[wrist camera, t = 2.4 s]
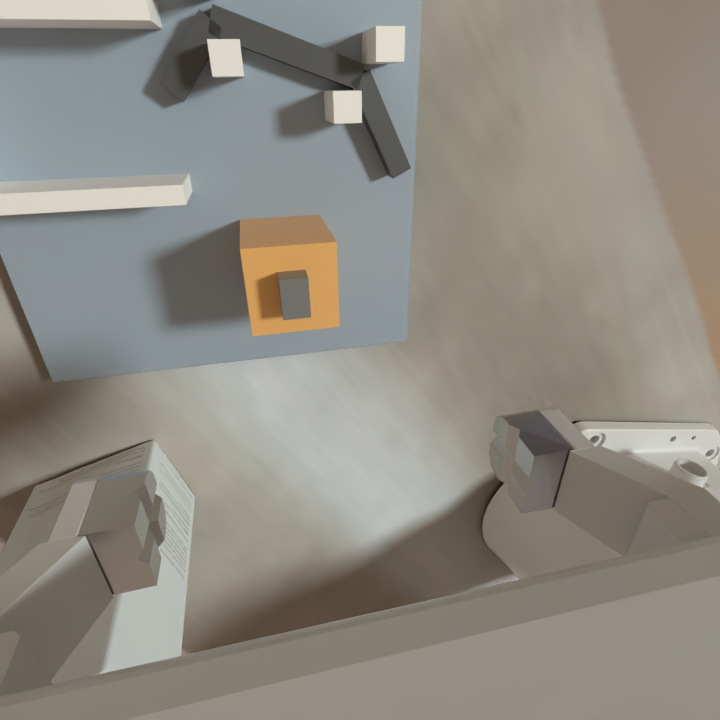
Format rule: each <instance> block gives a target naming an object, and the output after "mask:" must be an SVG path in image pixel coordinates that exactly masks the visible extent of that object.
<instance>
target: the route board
mask: <svg viewBox="0 0 720 720" xmlns="http://www.w3.org/2000/svg"><path fill="white" fill-rule="evenodd" d="M421 17H422V0H0V255H1V257H2V260H3V262H4V265H5V267H6V269H7V272H8V274H9V277H10V279H11V282H12V284H13V287H14V289H15V291H16V294H17V296H18V299H19V301H20V304H21V306H22V308H23V311H24V313H25V316H26V318H27V321H28V323H29V325H30V328H31V330H32V333H33V335H34V338H35V340H36V343H37V345H38V347H39V350H40V352H41V355H42V357H43V360H44V362H45V364H46V367H47V369H48V372H49V374H50V377H51V379H52V382H53V383H55V382H64V381H72V380H81V379H89V378H98V377H106V376H115V375H124V374H132V373H141V372H149V371H158V370H166V369H175V368H183V367H192V366H200V365H209V364H217V363H226V362H235V361H243V360H252V359H260V358H269V357H277V356H286V355H294V354H303V353H311V352H320V351H328V350H337V349H346V348H354V347H363V346H371V345H380V344H388V343H397V342H405V341H407V333H408V310H409V287H410V265H411V242H412V220H413V197H414V175H415V152H416V130H417V107H418V84H419V62H420V39H421ZM304 215H320V216H321V217H322V219H323V221H324V222H325V224H326V225H327V227H328V229H329V230H330V232H331V234H332V235H333V237H334V238H335V240H336V242H337V264H338V290H339V317H340V327H334V328H325V329H315V330H306V331H297V332H288V333H279V334H269V335H260V336H252V330H251V323H250V316H249V309H248V302H247V295H246V288H245V281H244V274H243V267H242V260H241V253H240V220H242V219H257V218H273V217H289V216H304Z"/></svg>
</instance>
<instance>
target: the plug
mask: <svg viewBox="0 0 720 720" xmlns="http://www.w3.org/2000/svg"><path fill="white" fill-rule="evenodd" d="M240 253H241V260H242V267H243V274H244V281H245V288H246V295H247V302H248V309H249V316H250V323H251V330H252V336H260V335H269V334H279V333H288V332H297V331H306V330H315V329H325V328H334V327H340V317H339V290H338V264H337V242H336V240H335V238H334V237H333V235H332V234H331V232H330V230H329V229H328V227H327V225H326V224H325V222H324V221H323V219H322V217H321V216H320V215H304V216H289V217H273V218H257V219H242V220H240Z"/></svg>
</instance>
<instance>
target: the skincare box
mask: <svg viewBox="0 0 720 720" xmlns="http://www.w3.org/2000/svg"><path fill="white" fill-rule="evenodd" d="M148 470H150V471H152V472H153V473H154V476H155V479H156V482H157V486H156V492H155V494H156V495H158V496H160V497H161V498H162V500H163V503H164V507H165V513H166V533H165V540H164V542H163V543H162V544H161V545H160V546H159V547H158V549H159V552H160V555H161V564H160V570H159V576H158V581H157V585H156V586H152V587H148V588H143V589H139V590H134V591H130V592H125V593H121V594H116V595H113V597H114V598H113V599H112V601H111V602H110V603H109V604H108V606H107V607H106V608H105V610H104V611H103V612H102V614H101V615H100V616H99V618H98V619H97V620H96V622H95V623H94V624H93V626H92V627H91V628H90V630H89V631H88V632H87V634H86V635H85V636H84V638H83V639H82V640H81V642H80V643H79V644H78V646H77V647H76V648H75V650H74V651H73V652H72V654H71V655H70V656H69V658H68V659H67V660H66V662H65V663H64V664H63V665H62V667H61V668H60V669H59V671H58V672H57V673H56V675H55V676H54V677H53V679H52V680H51V682H52V684H57V683H62V682H66V681H71V680H75V679H80V678H84V677H88V676H93V675H97V674H102V673H106V672H111V671H115V670H120V669H124V668H128V667H133V666H137V665H142V664H146V663H151V662H155V661H159V660H164V659H168V658H173V657H177V656H181V651H182V639H183V626H184V615H185V604H186V593H187V582H188V570H189V560H190V549H191V538H192V526H193V516H194V505H195V497H194V495H193V494H192V492H191V491H190V489H189V488H188V486H187V485H186V484H185V482H184V481H183V479H182V478H181V476H180V475H179V474H178V472H177V471H176V469H175V468H174V466H173V465H172V464H171V462H170V461H169V459H168V458H167V456H166V455H165V454H164V452H163V451H162V450H161V448H160V447H159V445H158V444H157V442H156V441H155V440H151V441H149V442H146V443H143V444H141V445H138V446H136V447H133V448H131V449H128V450H126V451H123V452H121V453H118V454H116V455H113V456H110V457H108V458H105V459H103V460H100V461H98V462H95V463H93V464H90V465H87V466H85V467H82V468H80V469H77V470H74V471H72V472H70V473H67V474H65V475H63V476H60V477H58V478H55V479H53V480H50V481H47V482H44V483H42V484H39V485H36V486H35V487H34V489H33V491H32V493H31V495H30V497H29V499H28V501H27V503H26V505H25V507H24V509H23V511H22V513H21V515H20V516H19V518H18V520H17V522H16V524H15V526H14V528H13V530H12V532H11V534H10V536H9V538H8V540H7V542H6V544H5V546H4V548H3V550H2V552H1V554H0V577H1V576H2V575H3V574H4V573H5V572H7V571H8V570H9V569H10V568H11V567H12V566H14V565H15V564H16V563H17V562H18V561H20V560H21V559H22V558H23V557H24V556H25V555H27V554H28V553H29V552H30V551H31V550H32V549H34V548H35V547H36V546H37V545H38V544H41V543H46V542H47V541H48V539H49V537H50V534H51V532H52V530H53V527H54V525H55V523H56V520H57V518H58V516H59V513H60V511H61V509H62V506H63V504H64V502H65V499H66V497H67V494H68V492H69V490H70V487H71V486H72V484H74V483H75V482H76V481H77V480H84V479H92V478H101V477H104V476H111V475H119V474H126V473H133V472H141V471H148Z"/></svg>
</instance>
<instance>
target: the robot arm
mask: <svg viewBox="0 0 720 720" xmlns="http://www.w3.org/2000/svg"><path fill="white" fill-rule="evenodd" d="M493 430H494V432H495V433H496V435H497V436H496V438H495V439H494V440H493V441H492V442H491V443H490V452H489V455H490V462H491V466H492V468H493V471H494V473H495V474H496V476H497V478H498V479H499V480H500V481H502V482H504V484H503V485H502V486H501V487H500V488H499V490H498V491H497V492H496V494H495V495H494V497H493V498H492V500H491V501H490V503H489V505H488V507H487V510H486V512H485V515H484V519H483V525H482V531H483V537H484V540H485V542H486V544H487V546H488V547H489V548H490V549H491V550H492V551H493V552H494V553H495V554H496V555H497V556H498V557H499V558H500V559H501V560H502V561H503V562H504V563H505V564H506V565H507V566H508V567H509V568H510V570H511V571H512V572H513V573H514V574H515V575H516V577H517V578H518V579H519V580H516V581H511V582H507V583H502V584H498V585H493V586H489V587H484V588H480V589H476V590H471V591H467V592H462V593H458V594H453V595H449V596H444V597H440V598H436V599H431V600H427V601H422V602H418V603H413V604H409V605H404V606H400V607H396V608H391V609H387V610H382V611H378V612H373V613H369V614H364V615H360V616H356V617H351V618H347V619H342V620H338V621H333V622H329V623H324V624H320V625H316V626H311V627H307V628H302V629H298V630H293V631H289V632H284V633H280V634H275V635H271V636H266V637H262V638H257V639H253V640H249V641H244V642H240V643H235V644H231V645H226V646H222V647H217V648H213V649H208V650H204V651H199V652H195V653H191V654H186V655H182V656H177V657H173V658H168V659H164V660H159V661H155V662H151V663H146V664H142V665H137V666H133V667H128V668H124V669H120V670H115V671H111V672H106V673H102V674H97V675H93V676H88V677H84V678H80V679H75V680H71V681H66V682H62V683H57V684H52V682H51V680H52V679H53V677H54V676H55V675H56V673H57V672H58V671H59V669H60V668H61V667H62V665H63V664H64V663H65V662H66V660H67V659H68V658H69V656H70V655H71V654H72V652H73V651H74V650H75V648H76V647H77V646H78V644H79V643H80V642H81V640H82V639H83V638H84V636H85V635H86V634H87V632H88V631H89V630H90V628H91V627H92V626H93V624H94V623H95V622H96V620H97V619H98V618H99V616H100V615H101V614H102V612H103V611H104V610H105V608H106V607H107V606H108V604H109V603H110V602H111V601H112V599H113V598H114V597H113V595H116V594H121V593H125V592H130V591H134V590H139V589H143V588H148V587H152V586H156V585H157V581H158V576H159V570H160V564H161V555H160V552H159V549H158V547H159V546H160V545H161V544H162V543H163V542H164V540H165V533H166V513H165V507H164V503H163V500H162V498H161V497H160V496H158V495H156V494H155V492H156V486H157V482H156V479H155V476H154V473H153V472H152V471H150V470H148V471H141V472H133V473H126V474H119V475H111V476H104V477H101V478H92V479H84V480H77V481H76V482H75V483H74V484H72V486H71V487H70V490H69V492H68V494H67V497H66V499H65V502H64V504H63V506H62V509H61V511H60V513H59V516H58V518H57V520H56V523H55V525H54V527H53V530H52V532H51V534H50V537H49V539H48V541H47V542H46V543H41V544H38V545H37V546H36V547H35V548H34V549H32V550H31V551H30V552H29V553H28V554H27V555H25V556H24V557H23V558H22V559H21V560H20V561H18V562H17V563H16V564H15V565H14V566H12V567H11V568H10V569H9V570H8V571H7V572H5V573H4V574H3V575H2V576H1V577H0V720H720V469H719V468H718V467H716V465H717V462H718V459H719V455H720V435H719V432H718V431H717V430H716V429H715V428H714V427H713V426H712V425H711V424H707V423H665V422H601V421H581V422H577V423H575V424H572V423H571V422H570V421H569V420H568V419H567V418H566V417H565V416H564V415H563V414H562V413H561V412H560V411H559V410H558V409H557V408H554V407H548V408H543V409H537V410H534V411H527V412H521V413H515V414H509V415H503V416H497V418H496V419H495V421H494V426H493Z"/></svg>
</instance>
